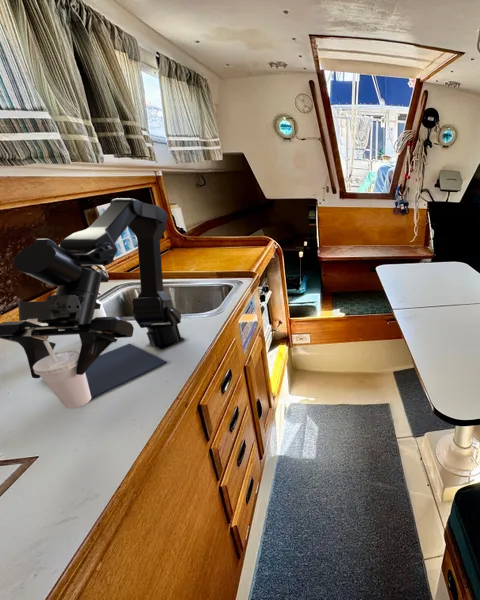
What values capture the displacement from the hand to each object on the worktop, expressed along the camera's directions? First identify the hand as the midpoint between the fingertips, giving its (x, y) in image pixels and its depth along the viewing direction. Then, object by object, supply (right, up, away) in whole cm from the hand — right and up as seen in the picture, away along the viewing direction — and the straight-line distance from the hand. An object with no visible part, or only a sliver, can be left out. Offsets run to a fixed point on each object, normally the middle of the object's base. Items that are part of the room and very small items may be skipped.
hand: (57, 376), depth 57 cm
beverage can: (-28, +2, +38) cm, 48 cm away
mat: (-13, -4, +24) cm, 27 cm away
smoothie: (-1, -6, +4) cm, 7 cm away
